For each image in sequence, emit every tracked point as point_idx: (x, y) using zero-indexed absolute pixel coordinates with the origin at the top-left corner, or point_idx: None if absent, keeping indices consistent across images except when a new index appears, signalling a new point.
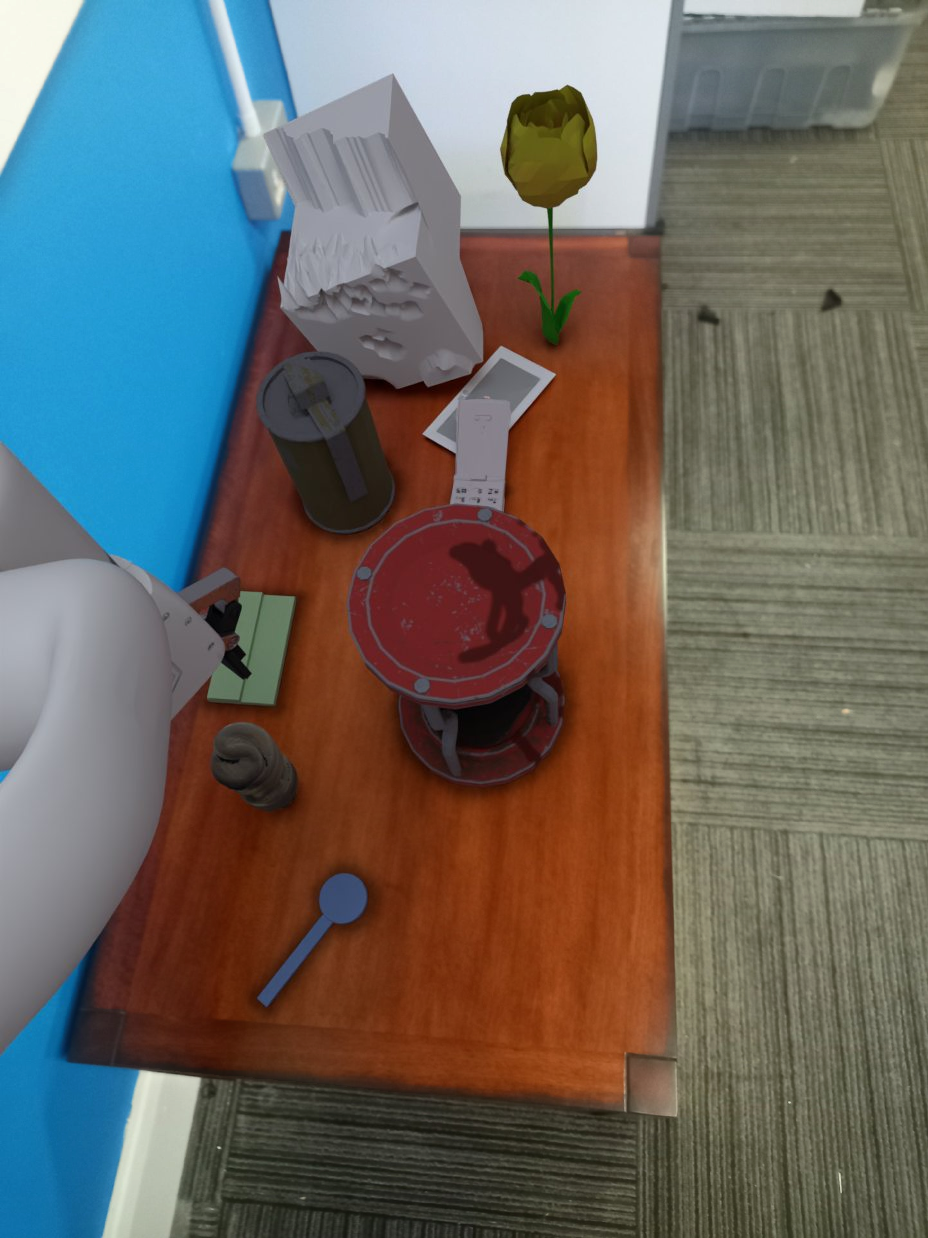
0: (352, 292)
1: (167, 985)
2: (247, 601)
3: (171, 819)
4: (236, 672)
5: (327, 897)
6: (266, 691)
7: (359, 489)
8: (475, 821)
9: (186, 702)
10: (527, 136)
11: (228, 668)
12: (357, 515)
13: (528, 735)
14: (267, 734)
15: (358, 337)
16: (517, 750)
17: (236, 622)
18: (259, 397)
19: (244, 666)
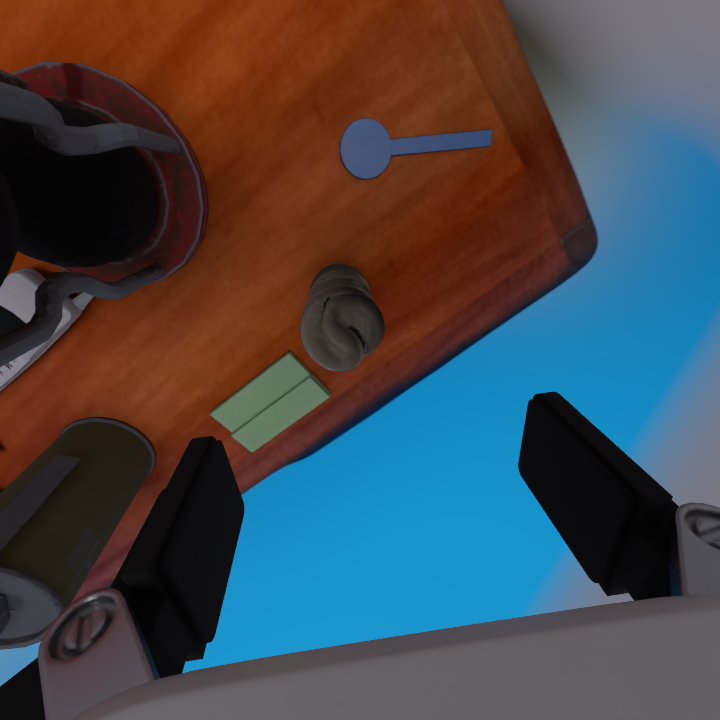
0: None
1: (525, 228)
2: (246, 437)
3: (420, 338)
4: (206, 477)
5: (376, 164)
6: (286, 366)
7: (57, 465)
8: (197, 87)
9: (380, 669)
10: None
11: (234, 478)
12: (101, 437)
13: (59, 97)
14: (301, 327)
15: None
16: (88, 99)
17: (9, 686)
18: None
19: (172, 481)
